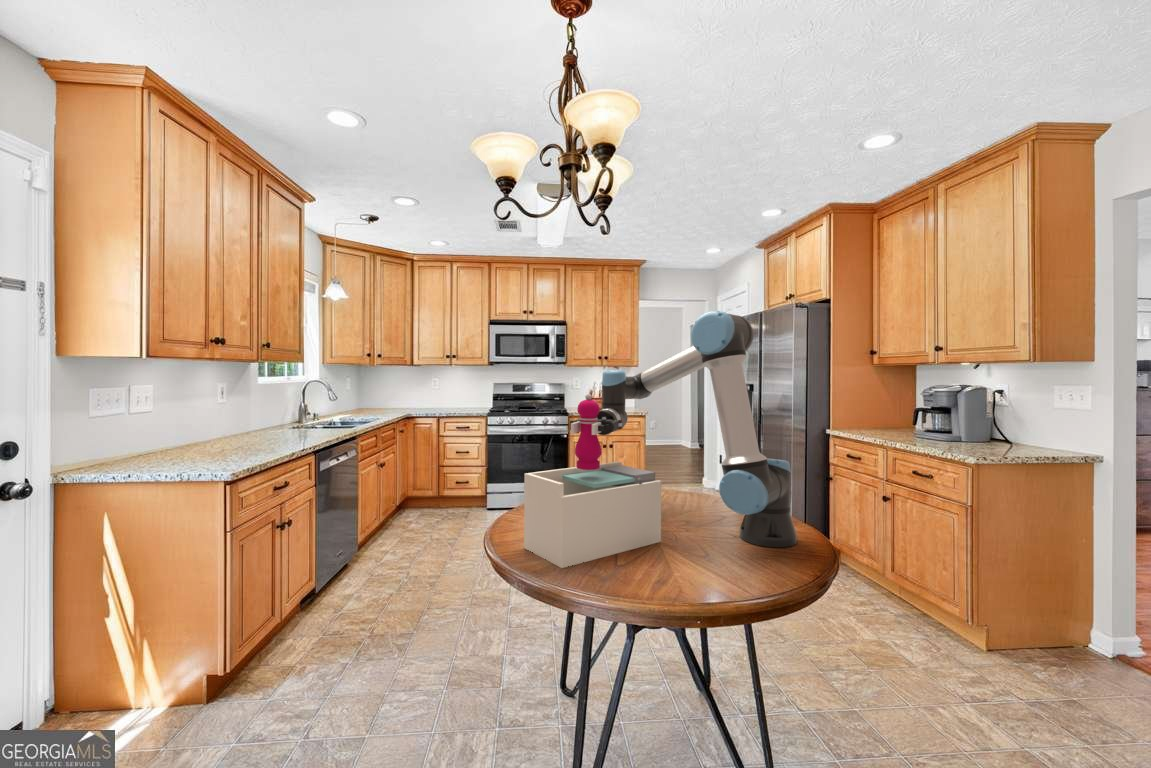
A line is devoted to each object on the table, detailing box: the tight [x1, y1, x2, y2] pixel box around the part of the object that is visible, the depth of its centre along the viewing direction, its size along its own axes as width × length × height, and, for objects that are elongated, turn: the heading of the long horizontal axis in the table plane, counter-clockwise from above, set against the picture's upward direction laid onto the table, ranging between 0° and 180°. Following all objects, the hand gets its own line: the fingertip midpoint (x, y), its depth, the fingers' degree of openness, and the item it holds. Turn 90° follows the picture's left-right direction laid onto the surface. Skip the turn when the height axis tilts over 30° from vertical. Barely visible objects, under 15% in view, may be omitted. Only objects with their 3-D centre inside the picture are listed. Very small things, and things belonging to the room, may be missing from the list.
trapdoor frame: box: [523, 461, 662, 569], centre depth 139 cm, size 19×34×20 cm, turn 127°
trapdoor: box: [563, 464, 656, 488], centre depth 142 cm, size 14×22×4 cm, turn 127°
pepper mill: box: [574, 393, 603, 470], centre depth 137 cm, size 7×7×20 cm
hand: (582, 429), depth 132 cm, fingers closed on pepper mill, 5 cm apart
